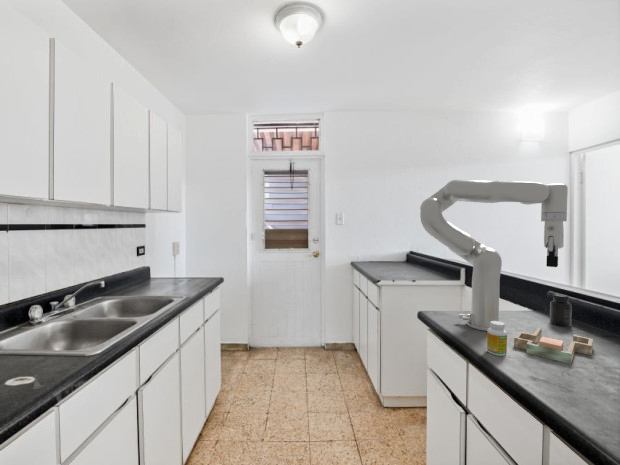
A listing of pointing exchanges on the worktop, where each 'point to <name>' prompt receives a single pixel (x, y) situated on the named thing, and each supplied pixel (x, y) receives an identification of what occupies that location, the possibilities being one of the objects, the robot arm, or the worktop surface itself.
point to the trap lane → (531, 340)
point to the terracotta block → (551, 343)
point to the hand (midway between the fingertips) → (552, 266)
